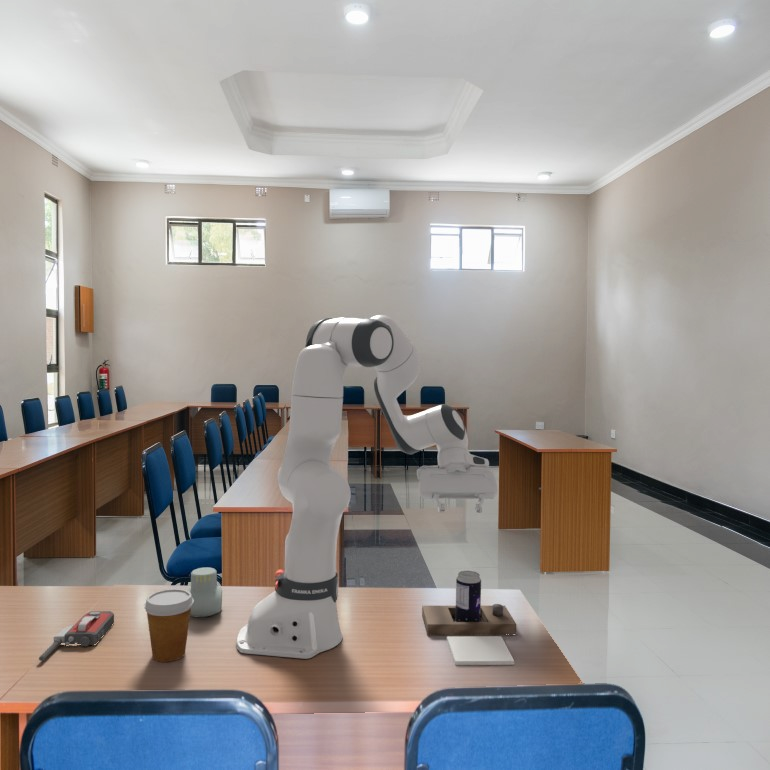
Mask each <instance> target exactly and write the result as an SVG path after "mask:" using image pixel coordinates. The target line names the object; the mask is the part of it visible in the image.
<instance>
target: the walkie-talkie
mask: <svg viewBox="0 0 770 770" xmlns="http://www.w3.org/2000/svg"><path fill="white" fill-rule="evenodd" d="M113 623H114V624H115V614H114V612H113V611H110V610H107V611H105V610H103V611H100V610H98V611H96V610H95V611H89V612H87V613H85V614H84V615H83V616H82V617H81V618H80V619H79V620H78V621H77V622H76V623H75V624H72V625H69V626H66V627H63V628H62V629H61V630H60V631H58V633H57V634H55V635H54V636H53V642H52V644H51V645H50V646H49V647H47V649H46V650H44V652H43V653H42V654H41V655H40V656H39V657H38V660H39V661H40V662H43V661H45V660H46V658H47V657H49V655H50V654H52V652H54V650H56V648H57V646H58V647H59V645H60V644H61V643H65V645H69V644H75V643H77V644H81V646H80V647H83V646H85V647H86V646H87V647H89V646H88V645H94V644H96V643H97V642H98V641H99V640H100V639H101V637H102V636H103V635H104V634H105V633H106V632H107V631H108V630H109V629H111V628H112V627H113V626H112V624H113ZM114 624H113V625H114ZM111 626H112V627H111ZM110 627H111V628H110ZM109 631H110V630H109ZM109 631H108V632H109ZM108 632H107V633H108ZM107 633H106V634H107ZM106 634H105V635H106ZM105 635H104V636H105ZM101 640H102V639H101ZM101 640H100V641H101ZM100 641H99V642H100ZM65 645H64V646H65Z"/></svg>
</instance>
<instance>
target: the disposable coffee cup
mask: <svg viewBox="0 0 770 770" xmlns="http://www.w3.org/2000/svg"><path fill="white" fill-rule="evenodd" d="M187 590H188V589H182V588H181V589H180V588H170V589H162V590H159V591H155V592H153V593H151V594H149V595H148V596H147V597H146V601H145V602H144V605H143V606H144V609H145V612H146V617H147V623H148V632H149V639H150V647H151V654H152V659H153V660H154V661H156V662H159V661H160V663H168V662H167V661H169V662H174V661H176V660H180V659H181V658H182V656H183V655H184V656H185V654H186V649H187V641H188V633H189V626H190V617H191V615H190V612H191V607H192V604H193V602H194V599H193V598H192V595H191V593H190V592H189V591H187ZM184 656H183V657H184ZM173 660H174V661H173Z"/></svg>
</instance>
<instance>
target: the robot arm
mask: <svg viewBox="0 0 770 770" xmlns="http://www.w3.org/2000/svg"><path fill="white" fill-rule="evenodd" d="M419 355H420V354H419V352H418V351H417V349H416V348H415V345H414V344H413V343H412V340H411V339H410V338H409V335H407V334H406V333H405V331H404V330H403V329H402V327H400V325H399V324H398V323H397V322H396V321H395V320H394V319H393V318H391V317H390V316H388V315H385V314H377V315H374V316H371V317H368V318H360V317H351V316H344V317H341V316H340V317H336V318H332V317H330V318H327V317H326V318H323V319H321V320H318V321H316V322H314V324H313V325H312V326H311V327H310V329H309V330H308V332H307V335H306V341H305V346H304V348H303V349H301V350H300V352H299V353H298V356H297V360H296V363H295V368H294V371H293V372H294V373H293V377H292V387H291V396H290V397H291V401H290V413H289V427H288V434H287V439H286V440H287V441H286V443H285V444H286V445H285V449H284V453H283V457H282V460H281V465H280V467H279V469H278V470H277V474H276V480H277V485H278V488H279V491H280V493H281V495H282V496H283V498H285V499H286V500H287V501H288V502H290V503H291V505H292V518H291V521H290V526H289V527H290V528H289V531H288V533H287V535H286V536H285V541H284V570H283V569H277V571H275V574H274V579H275V580H274V591H273V592H271V593H270V594H269V595H267V596H266V597H264V598H263V599H262V600H260V601H259V602H257V603H256V604H255V606H254V607H253V608H252V610H251V613H250V615H249V618H248V622H247V623H246V624H245V625H244V626H242V627H241V628H240V630H239V632H238V634H237V637H236V643H235V644H236V649H237V651H239V652H240V653H242V654H249V655H260V656H272V657H280V658H281V657H283V658H291V659H292V658H295V659H305V660H307V659H312V658H313V657H315V656H316V655H318V654H319V653H322V652H325V651H328V650H331V649H333V648H335V647H336V646H338V645H339V644H340V643H341V641H342V639H343V634H342V631H341V627H340V621H339V614H338V608H337V607H338V606H337V600H338V597H339V577H338V572H337V545H338V544H337V543H338V534H339V530H340V525H341V520H342V517H343V513H344V512H345V511H346V510H347V508H348V506H349V504H350V502H351V498H352V497H351V496H352V494H351V487H350V484H349V481H347V479H346V478H345V477H344V475H343V473H341V472H340V471H339V470H338V469H337V468H335V467H334V466H331V460H332V459H331V458H332V454H333V452H334V449H335V448H334V447H335V445H336V443H337V440H338V439H339V437H340V436H341V433H342V420H343V419H342V418H343V403H344V375H345V372H346V370H347V369H348V368H361V367H362V368H364V367H365V368H373V369H374V370H375V372H376V378H375V379H374V381H373V391H374V392H375V397H376V399H377V401H378V404H379V407H380V409H381V411H382V414H383V416H384V419H385V420H386V422H387V425H388V427H389V430H390V432H391V435H392V437H393V440H394V443H395V446H396V448H397V449H398V450H399V451H401V452H402V453H405V454H406V455H414V454H415V453H418V452H421V451H422V450H424V449H427V448H430V447H433V446H436V449H437V456H436V457H437V465H422V466H420V467H418V468H417V469H416V478H417V480H418V496H419V497H420V498H421V499H423V500H424V499H425V500H426V499H428V500H429V499H430V500H431V499H432V502H433V504H434V505H435V506H436V507H437V511H438V513H440V514H441V513H443V514H445V511H446V508H445V503H442V502H441V500H449V499H450V500H477V502H478V503H475V506H474V510H475V514H482V512H483V504H484V503H485V502H484V501H485V500H494V499H495V497H496V496H497V493H498V491H499V490H498V483H497V480H496V477H495V474H494V472H493V471H492V469H491V468H490V467H489V466H490V461H489V460H488V458H484V457H482V456H481V457H480V456H477V455H475V454H471V453H470V451H469V449H468V447H469V437H468V433H467V428H466V426H465V425H466V424H465V421H464V418H463V417H462V416H461V413H460V412H459V411H458V410H457V409H456V408H454V407H452V406H451V405H448V404H445V403H443V404H438V405H436V406H433V407H429V408H427V409H425V410H423V411H420V412H417V413H414V414H410V415H404V414H403V411H402V410H401V407H400V404H399V402H398V397H400V396H401V394H403V392H404V391H406V390H407V389H409V388H410V387H411V386H412V385H413V384H414V383H415V381H416V380H417V378H418V376H419V374H420V371H421V368H422V367H421V365H422V363H421V362H422V360H421V357H420V356H419Z"/></svg>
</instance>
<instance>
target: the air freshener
mask: <svg viewBox="0 0 770 770" xmlns="http://www.w3.org/2000/svg"><path fill="white" fill-rule="evenodd" d="M217 573H218V572H217V570H216V569H215V568H213V567H210V566H209V567H208V566H207V567H198V568H196V569H193V570H192V571H191V572H190V587H189V588H188V589H186V590H187V591H189V592H190V593H191V595H192V598H193V599H194V602H193V604H192V607H191V612H190V617H191V616H192V617H196V618H205V617H210V616H213V615H215V614H217V613H219V612H221V611H222V608H223V607H222V605H223V588H222V587H221V586H219V585H218V583H217V582H218V577H217Z"/></svg>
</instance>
